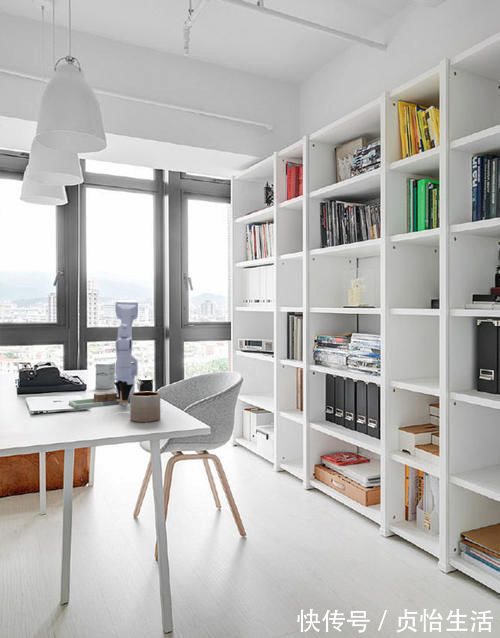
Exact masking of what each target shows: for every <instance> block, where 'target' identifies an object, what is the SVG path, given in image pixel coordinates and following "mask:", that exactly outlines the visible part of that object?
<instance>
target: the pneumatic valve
mask: <svg viewBox="0 0 500 638" xmlns="http://www.w3.org/2000/svg"><path fill="white" fill-rule="evenodd" d="M136 382H137V383H136V384H137V385H136V386H137V388H136V389H137V390H138V392H144V391H151V392H154V391H153V390H154V379H153V378H152V377H151V376H147V375H144V376H138V378H137V381H136Z"/></svg>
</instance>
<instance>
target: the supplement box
mask: <svg viewBox="0 0 500 638" xmlns="http://www.w3.org/2000/svg"><path fill="white" fill-rule="evenodd" d="M115 367H116V362H104V361H103V362H97V363H95V388H94V389H102V390H103V389H104V390H110V389H114V388H116V386H115V384H114V383H115V382H116V380H114V378H115V376H116V374H115Z"/></svg>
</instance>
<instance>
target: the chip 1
mask: <svg viewBox="0 0 500 638" xmlns="http://www.w3.org/2000/svg"><path fill="white" fill-rule="evenodd" d="M105 393H106V392H98V393H93V398H94V403H98V402H101V401H106V397H107V394H105Z"/></svg>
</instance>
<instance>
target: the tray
mask: <svg viewBox="0 0 500 638" xmlns="http://www.w3.org/2000/svg"><path fill="white" fill-rule="evenodd" d="M68 405H70V406H71V407H73V408H75V409H76V408H77V409H84V408H93V407H94V408H95V407H103V402H98V403H94V397H93V398H84V399H75V400H74V399H73V400H68Z"/></svg>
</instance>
